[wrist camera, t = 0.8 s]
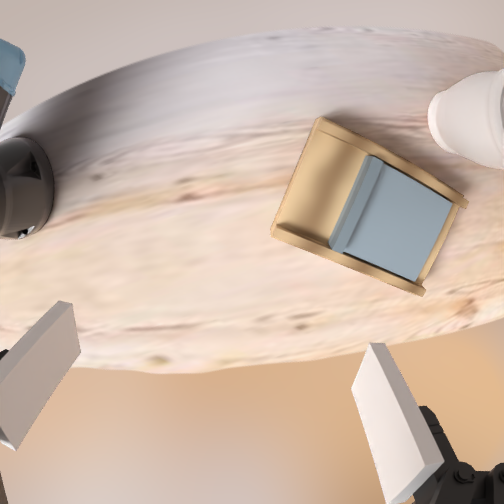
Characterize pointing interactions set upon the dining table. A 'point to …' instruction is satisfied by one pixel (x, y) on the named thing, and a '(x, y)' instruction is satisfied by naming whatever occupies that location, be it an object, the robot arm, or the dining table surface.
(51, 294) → the dining table surface
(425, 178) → the slide box
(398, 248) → the cover plate
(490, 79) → the jar
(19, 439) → the robot arm
